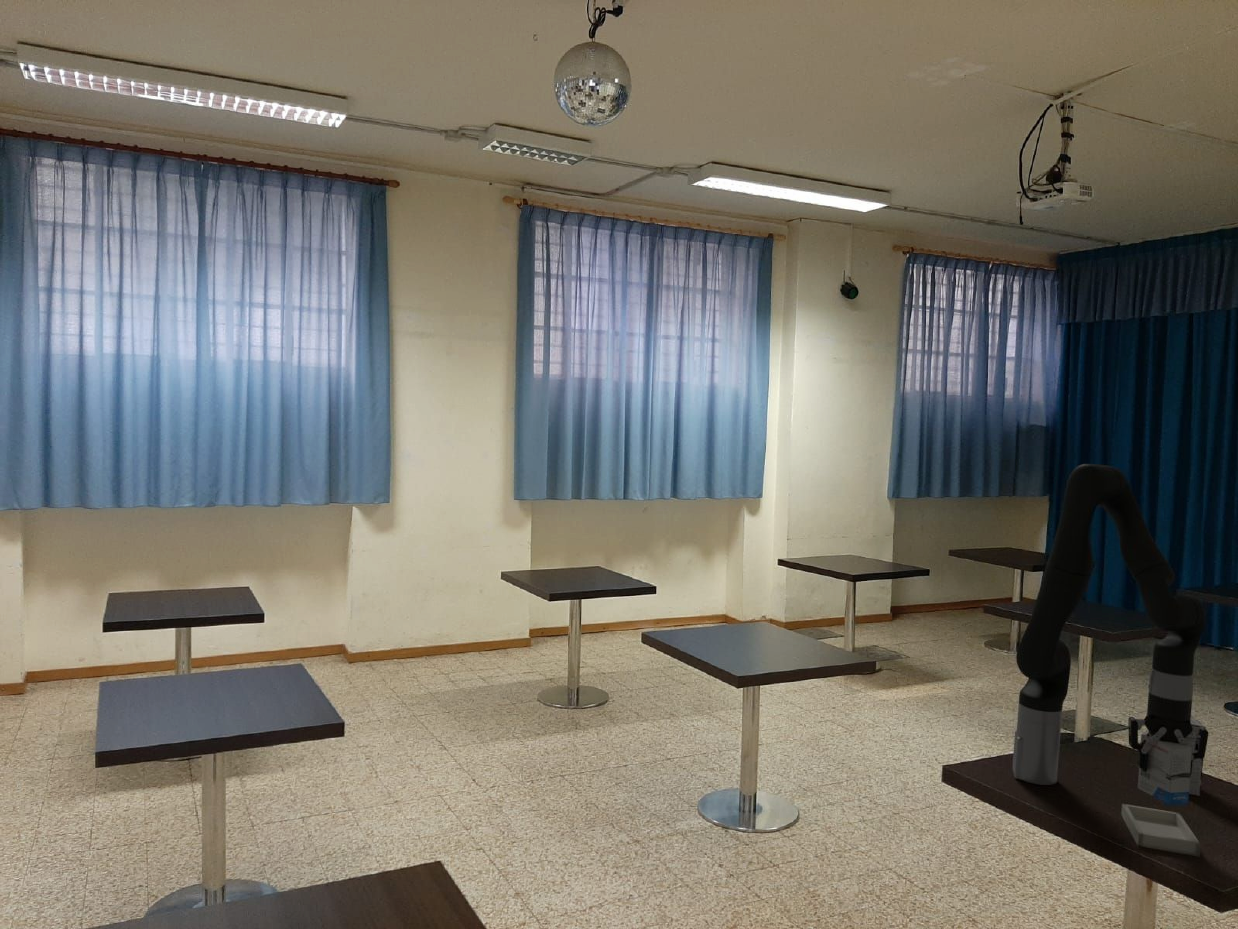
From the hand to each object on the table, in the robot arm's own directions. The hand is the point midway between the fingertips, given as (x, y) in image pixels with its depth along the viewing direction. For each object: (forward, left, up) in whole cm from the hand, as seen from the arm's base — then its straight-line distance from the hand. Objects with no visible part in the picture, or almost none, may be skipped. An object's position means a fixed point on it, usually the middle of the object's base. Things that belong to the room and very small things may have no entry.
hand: (1164, 773), depth 179 cm
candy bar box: (+11, +31, -13) cm, 36 cm away
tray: (0, 0, -13) cm, 13 cm away
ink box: (0, 0, -5) cm, 5 cm away
